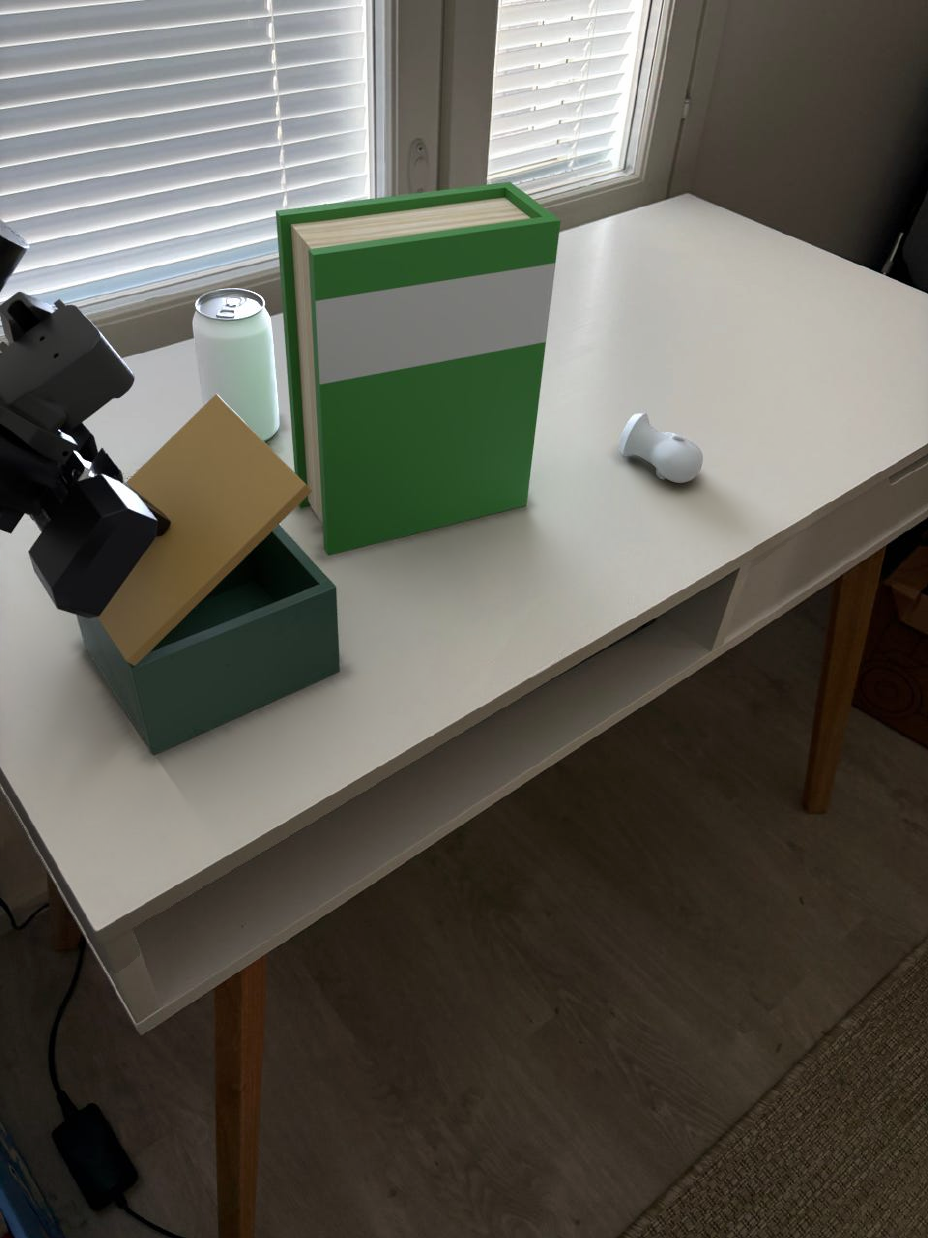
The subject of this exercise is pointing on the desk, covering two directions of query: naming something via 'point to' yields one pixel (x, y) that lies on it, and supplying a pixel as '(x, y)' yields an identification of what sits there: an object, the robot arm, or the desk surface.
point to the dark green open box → (229, 647)
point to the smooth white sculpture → (661, 450)
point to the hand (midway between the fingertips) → (165, 526)
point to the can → (238, 356)
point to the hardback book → (415, 355)
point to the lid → (199, 522)
